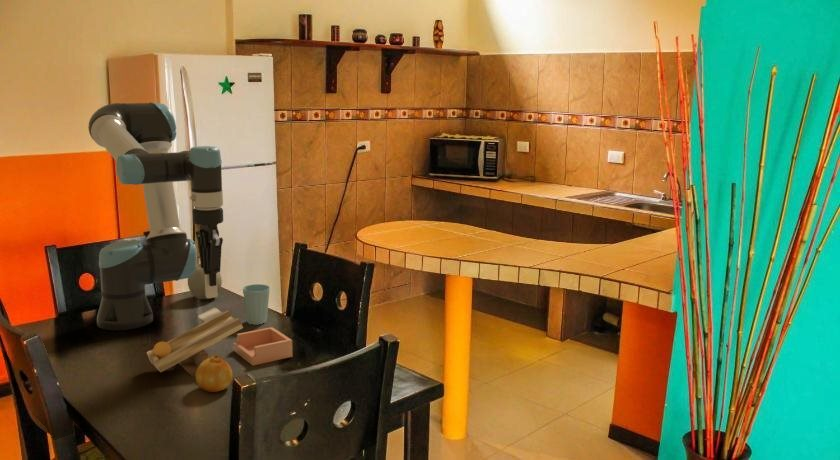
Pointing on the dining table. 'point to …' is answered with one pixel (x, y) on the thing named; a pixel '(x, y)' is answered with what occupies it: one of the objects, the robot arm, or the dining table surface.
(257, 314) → the cup
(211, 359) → the fruit
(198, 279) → the fruit
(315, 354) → the dining table surface
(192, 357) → the fulcrum
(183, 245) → the robot arm
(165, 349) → the ball
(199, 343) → the lever
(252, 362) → the dish
